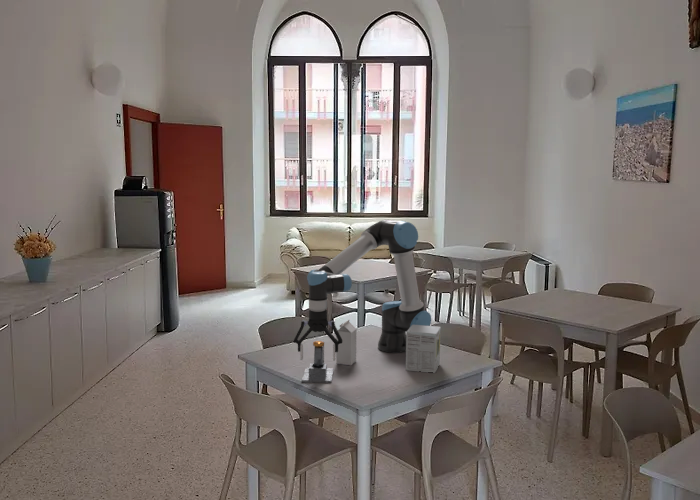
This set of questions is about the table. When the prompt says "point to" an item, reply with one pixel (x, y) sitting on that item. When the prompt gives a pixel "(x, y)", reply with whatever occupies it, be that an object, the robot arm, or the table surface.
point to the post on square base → (318, 373)
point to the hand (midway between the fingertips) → (318, 359)
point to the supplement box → (423, 348)
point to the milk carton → (346, 344)
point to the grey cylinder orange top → (318, 353)
